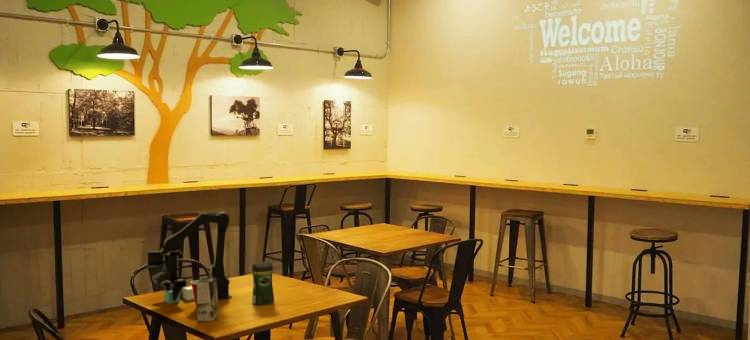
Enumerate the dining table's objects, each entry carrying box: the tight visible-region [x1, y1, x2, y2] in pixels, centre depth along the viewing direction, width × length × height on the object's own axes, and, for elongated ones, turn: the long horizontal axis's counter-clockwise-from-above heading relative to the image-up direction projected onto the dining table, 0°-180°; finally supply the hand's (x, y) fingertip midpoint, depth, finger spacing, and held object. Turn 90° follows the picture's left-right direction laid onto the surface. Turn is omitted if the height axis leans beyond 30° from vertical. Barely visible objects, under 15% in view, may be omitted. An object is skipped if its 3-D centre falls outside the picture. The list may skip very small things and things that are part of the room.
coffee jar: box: [251, 261, 275, 306], centre depth 306 cm, size 10×8×19 cm
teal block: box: [163, 290, 181, 304], centre depth 309 cm, size 5×5×5 cm
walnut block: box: [180, 285, 188, 298], centre depth 319 cm, size 5×5×5 cm
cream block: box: [182, 285, 195, 301], centre depth 315 cm, size 5×5×5 cm
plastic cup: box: [190, 279, 200, 309], centre depth 298 cm, size 11×11×12 cm
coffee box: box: [196, 277, 219, 322], centre depth 282 cm, size 9×6×16 cm
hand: (172, 299), depth 309 cm, fingers open, 5 cm apart
